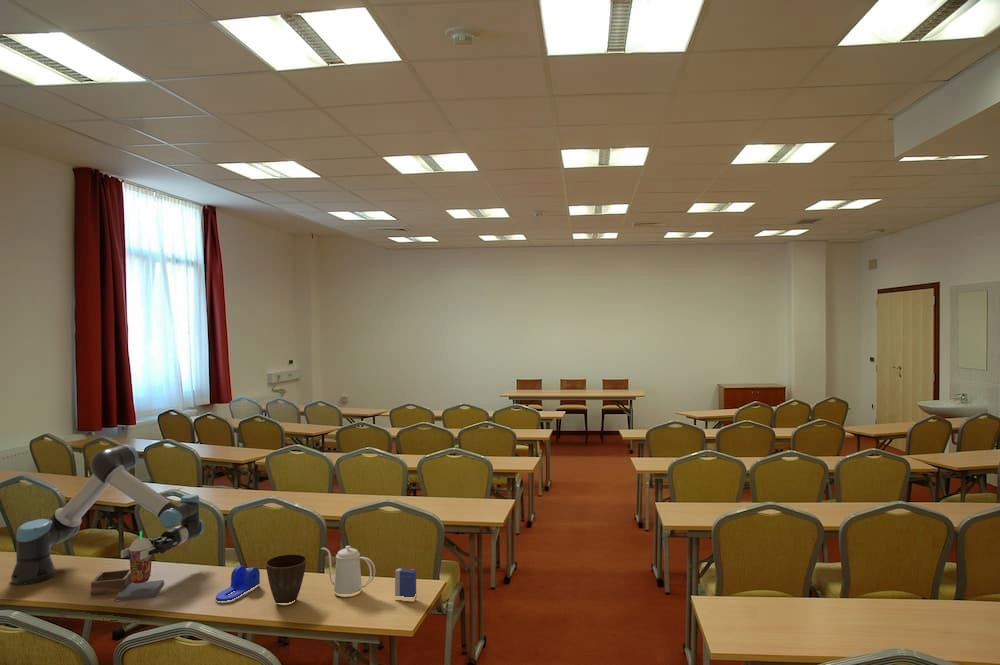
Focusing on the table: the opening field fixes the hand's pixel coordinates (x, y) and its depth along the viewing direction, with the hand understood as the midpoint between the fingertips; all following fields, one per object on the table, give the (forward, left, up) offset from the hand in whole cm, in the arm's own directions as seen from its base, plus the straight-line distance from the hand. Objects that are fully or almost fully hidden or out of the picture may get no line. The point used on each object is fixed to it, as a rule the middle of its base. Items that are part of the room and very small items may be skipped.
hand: (131, 555), depth 243 cm
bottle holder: (-12, -10, -16) cm, 23 cm away
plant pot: (+23, +59, -17) cm, 66 cm away
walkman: (+35, +104, -17) cm, 111 cm away
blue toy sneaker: (+9, +40, -17) cm, 44 cm away
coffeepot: (+21, +82, -17) cm, 86 cm away
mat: (-4, +2, -16) cm, 17 cm away
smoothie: (-4, +2, -12) cm, 13 cm away
